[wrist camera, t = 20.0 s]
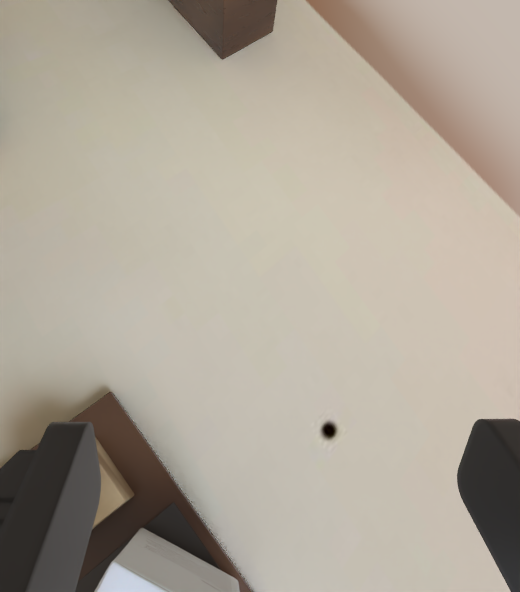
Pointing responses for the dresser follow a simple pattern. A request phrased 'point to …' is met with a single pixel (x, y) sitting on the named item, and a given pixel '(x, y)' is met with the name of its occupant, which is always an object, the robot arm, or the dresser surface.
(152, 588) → the product box
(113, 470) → the brown board with block
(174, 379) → the dresser surface
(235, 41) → the dark wooden block
